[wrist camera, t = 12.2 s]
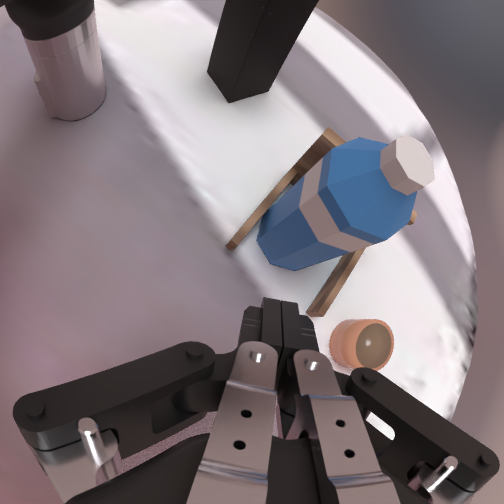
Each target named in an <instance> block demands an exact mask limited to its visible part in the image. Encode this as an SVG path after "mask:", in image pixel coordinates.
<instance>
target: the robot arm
mask: <svg viewBox="0 0 504 504" xmlns="http://www.w3.org/2000/svg"><path fill="white" fill-rule="evenodd" d="M3 5H5V7H6V10H7V12H8V14H9V16H10V18H11V19H12V21H13V22H14V23H15V24H16V25H18V26H19V27H20V29H21V31H22V34H23V36H24V39H25V42H26V45H27V48H28V50H29V53H30V56H31V58H32V61H33V64H34V66H35V69H36V74H35V78H34V82H35V84H36V87H37V89H38V91H39V93H40V96H41V98H42V100H43V102H44V104H45V106H46V108H47V111H48V113H49V115H50V117H51V118H56V117H58V118H60V119H62V120H67V121H74V120H79V119H82V118H84V117H87V116H88V115H90V114H92V113H93V112H94V111H96V110H97V109H98V108H99V107H100V106H101V104H102V103H103V101H104V99H105V97H106V85H105V78H104V74H103V68H102V62H101V55H100V49H99V42H98V34H97V26H96V18H95V8H94V0H0V7H1V6H3ZM314 330H315V329H314V325H313V322H312V321H311V320H310V319H309V317H308V316H305V315H299V309H298V304H297V303H293V302H287V301H282V300H281V301H280V300H276V299H271V298H266V297H264V298H263V301H262V305H261V308H259V307H254V306H249V307H248V308H247V309H246V310H245V311H244V315H243V320H242V325H241V330H240V335H239V340H238V346H237V348H236V349H235V350H234V351H232V352H230V353H226V354H215V352H214V351H213V349H212V348H210V347H209V346H207V345H205V344H203V343H200V342H192V341H190V342H183V343H180V344H178V345H175V346H173V347H170V348H167V349H164V350H162V351H159V352H156V353H154V354H151V355H148V356H145V357H142V358H140V359H137V360H134V361H131V362H128V363H125V364H122V365H119V366H117V367H114V368H111V369H108V370H105V371H102V372H99V373H96V374H93V375H89V376H86V377H83V378H80V379H77V380H74V381H71V382H67V383H64V384H61V385H57V386H54V387H51V388H47V389H44V390H41V391H37V392H34V393H30V394H27V395H24V396H22V397H21V398H20V399H18V400H17V402H16V403H15V405H14V407H13V417H14V420H15V422H16V424H17V426H18V428H19V429H20V431H21V433H22V435H23V437H24V439H25V441H26V442H27V444H28V446H29V448H30V449H31V451H32V453H33V454H34V456H35V458H36V459H37V461H38V463H39V464H40V466H41V467H42V469H43V471H44V472H45V473H46V475H47V476H48V477H49V479H50V481H51V483H52V484H53V486H54V488H55V490H56V491H57V493H58V495H59V497H60V498H61V500H62V502H63V503H64V504H469V503H470V502H471V500H472V498H473V496H474V495H475V494H476V493H477V492H478V491H479V490H480V489H481V488H482V487H483V486H484V485H485V484H486V483H487V482H488V481H489V480H490V479H491V478H492V477H493V476H494V475H495V474H496V473H497V472H498V470H499V466H500V464H499V460H498V457H497V456H496V454H495V453H494V452H493V451H492V450H490V449H489V448H488V447H486V446H485V445H483V444H482V443H480V442H479V441H477V440H476V439H474V438H473V437H471V436H469V435H468V434H467V433H465V432H464V431H462V430H461V429H459V428H458V427H456V426H455V425H453V424H452V423H450V422H449V421H448V420H446V419H445V418H443V417H442V416H440V415H439V414H437V413H436V412H434V411H433V410H432V409H430V408H429V407H427V406H426V405H424V404H423V403H422V402H420V401H419V400H417V399H416V398H414V397H413V396H411V395H410V394H409V393H407V392H406V391H404V390H403V389H402V388H400V387H399V386H397V385H396V384H394V383H393V382H392V381H390V380H389V379H387V378H386V377H385V376H383V375H382V374H380V373H379V372H377V371H376V370H373V369H371V368H366V367H359V368H356V369H354V370H353V371H352V373H351V375H350V376H348V375H345V374H342V373H339V372H336V371H334V370H333V368H332V365H331V362H330V360H329V359H328V358H327V357H326V356H325V355H323V354H322V353H320V352H319V348H318V343H317V338H316V334H315V331H314ZM276 396H277V402H278V404H277V406H276ZM275 406H276V418H277V428H278V437H275V436H272V432H273V423H274V415H275ZM211 411H217V415H216V418H215V421H214V424H213V427H212V430H211V433H206V434H201V435H196V436H193V437H190V438H188V439H185V440H183V441H181V442H179V443H177V444H176V445H174V446H172V447H170V448H169V449H167V450H165V451H164V452H162V453H160V454H158V455H157V456H155V457H153V458H151V459H149V460H147V461H146V462H144V463H142V464H140V465H138V466H136V467H134V468H133V469H131V470H129V471H127V472H125V473H123V474H121V475H119V476H117V475H118V474H119V472H120V471H121V468H122V459H124V458H127V457H129V456H131V455H133V454H135V453H137V452H140V451H142V450H144V449H146V448H148V447H150V446H152V445H154V444H156V443H158V442H160V441H162V440H164V439H166V438H168V437H170V436H172V435H174V434H175V433H177V432H179V431H181V430H183V429H185V428H187V427H188V426H190V425H192V424H194V423H196V422H198V421H199V420H201V419H203V418H204V417H205V416H206V414H207V412H211ZM370 412H372V413H374V414H375V415H376V416H377V417H379V418H380V419H381V420H383V421H384V422H385V423H387V424H388V425H389V426H390V427H392V428H393V430H394V432H395V438H394V439H393V440H390V439H389V438H388V437H386V436H385V435H384V434H383V433H381V432H380V431H379V430H377V429H376V428H375V427H374V426H372V425H371V424H370V423H369V422H367V421H366V419H367V417H368V416H369V414H370ZM115 476H117V477H115ZM114 477H115V478H114ZM112 478H113V479H112Z"/></svg>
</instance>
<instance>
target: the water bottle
mask: <svg viewBox="0 0 504 504" xmlns="http://www.w3.org/2000/svg"><path fill="white" fill-rule="evenodd" d="M433 180H434V162H433V160H432V158H431V157H430V155H429V153H428V152H427V150H426V148H425V147H424V145H423V144H422V143H421V142H419V141H418V140H416V139H414V138H413V137H411V136H410V135H408V134H407V135H404V136H402V137H400V138H398V139H396V140H394V141H393V142H392V143H390V144H385V143H381V142H377V141H373V140H369V139H364V138H360V137H359V138H357V139H354V140H352V141H349V142H347V143H344V144H342V145H339V146H337V147H335V148H332V149H331V150H330V151H329V152H328V153H327V154H326V155H325V156H324V157H323V158H322V159H321V160H320V161H319V162H317V163H316V164H315V165H314V166H313V167H312V168H311V169H310V170H309V171H308V172H307V173H306V174H305V175H304V176H303V177H302V178H301V179H300V180H299V181H298V182H297V183H296V184H295V185H294V186H293V187H292V188H291V189H290V190H289V191H287V192H286V193H285V194H284V195H283V196H282V197H281V198H280V199H279V200H278V201H277V202H276V203H275V204H274V205H273V206H272V207H271V208H270V209H269V210H268V211H267V212H266V213H265V214H264V215H263V216H262V220H261V224H260V229H259V233H258V237H257V242H258V244H259V245H260V247H261V249H262V250H263V252H264V254H265V256H266V257H267V259H268V261H269V263H270V264H273V265H276V266H279V267H283V268H286V269H290V270H293V271H296V270H299V269H302V268H305V267H308V266H311V265H314V264H317V263H320V262H323V261H326V260H329V259H332V258H335V257H338V256H341V255H344V254H347V253H350V252H353V251H356V250H359V249H362V248H365V247H368V246H371V245H374V244H377V243H380V242H382V241H385V240H387V239H388V238H390V237H391V236H392V235H393V234H395V233H396V232H397V231H399V230H400V229H401V228H402V227H404V226H405V225H406V224H407V223H409V222H410V218H411V214H412V210H413V206H414V202H415V198H416V194H417V190H419V189H421V188H423V187H425V186H427V185H428V184H429V183H431V182H432V181H433Z"/></svg>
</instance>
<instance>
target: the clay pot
mask: <svg viewBox="0 0 504 504" xmlns="http://www.w3.org/2000/svg"><path fill="white" fill-rule="evenodd" d="M393 347H394V338H393V334H392V331H391V329H390V327H389V326H388V325H387V324H386V323H385V322H383V321H381V320H376V319H350V320H345V321H343V322H341V323H340V324H338V325H337V326H336V328H335V329H334V331H333V332H332V335H331V337H330V343H329V348H330V353H331V356H332V357H333V359H334V360H335V361H336V362H337V363H338V364H340V365H342V366H346V367H350V368H353V369H356V368H359V367H366V368H371V369H373V370H376V371H378V370H380V369H381V368H383V367H384V366H385V365H386V364H387V362H388V361H389V359H390V357H391V355H392V352H393Z"/></svg>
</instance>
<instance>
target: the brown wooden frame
mask: <svg viewBox="0 0 504 504" xmlns="http://www.w3.org/2000/svg"><path fill="white" fill-rule="evenodd" d="M344 143H346V142H345V141H344V140H343V139H342V138H341V137H340V136H338V135H337V134H336V133H335V132H334V131H333V130H332V129H330V128H329V127H328V128H327V129H326V131H325V132H324V133H323V134H322V135H321V136H320V137H319V138H318V139H317V140H316V142H315V143H314V144H313V145H312V146H311V147H310V148H309V149H308V150H307V151H306V153H305V154H304V155H303V156H302V157H301V158H300V159H299V160H298V161H297V162H296V164H295V165H294V166H293V167H292V168H291V169H290V170H289V171H288V173H287V174H286V175H285V176H284V177H283V178H282V180H281V181H280V182H279V183H278V184H277V185H276V187H275V188H274V189H273V190H272V191H271V192H270V194H269V195H268V196H267V197H266V198H265V200H264V201H263V202H262V203H261V204H260V205H259V207H258V208H257V209H256V210H255V211H254V213H253V214H252V215H251V216H250V217H249V219H248V220H247V221H246V222H245V223H244V225H243V226H242V227H241V228H240V229H239V231H238V232H237V233H236V234H235V235H234V237H233V238H232V239H231V240H230V241H229V243H228V244H227V245H226V247H228V248H229V249H230V250H231V251H232V250H233V249H234V248H235V247H236V246H238V244H239V243H240V242H241V241H242V239H243V238H244V237H245V236H246V235H247V233H248V232H249V231H250V230H251V228H252V227H253V226H254V225H255V224H256V222H257V221H258V220H259V219H260V217H261V216H262V215H263V214H264V213H265V211H266V210H267V209H268V208H269V206H270V205H271V204H272V203H273V202H274V200H275V199H276V198H277V197H278V196H279V194H280V193H281V192H282V191H283V190H284V188H285V187H286V186H287V185H288V184H289V182H290V183H291V184H292V185H295V184H296V183H297V182H298V181H299V180H300V179H301V178H302V177H303V176H304V175H305V174H306V173H307V172H308V171H309V170H310V169H311V168H312V167H313V166H314V165H315V164H316V163H317V162H319V161H320V160H321V159H322V158H323V157H324V156H325V155H326V154H327V153H328V152H329V151H330V150H331V149H332V148H335V147H337V146H339V145H342V144H344ZM416 217H417V213H416V212H415V211H414V210H412V214H411V218H410V222H409V223H407V224H408V225H411V224H413V223H414V221H415V219H416ZM407 224H406V225H407ZM365 248H366V247H365ZM365 248H362V249H359V250H356V251H353V252H350V253H347V254H344V255H343V256H342V258H341V260H340V261H339V263H338V264H337V266H336V268H335V269H334V271H333V272H332V274H331V275H330V277H329V278H328V280H327V282H326V283H325V285H324V286H323V288H322V289H321V291H320V292H319V294H318V295H317V297H316V298H315V300H314V301H313V303H312V304H311V306H310V307H309V309H308V310H307V312H306V313H308V314H309V315H310V316H311V317H323V316H324V315H325V313H326V312H327V310H328V309H329V307H330V306H331V304H332V302H333V301H334V299H335V298H336V296H337V294H338V293H339V291H340V290H341V288H342V286H343V285H344V283H345V282H346V280H347V278H348V277H349V275H350V273H351V272H352V270H353V268H354V267H355V265H356V263H357V262H358V260H359V258H360V256H361V255H362V253H363V251H364V250H365Z"/></svg>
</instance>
